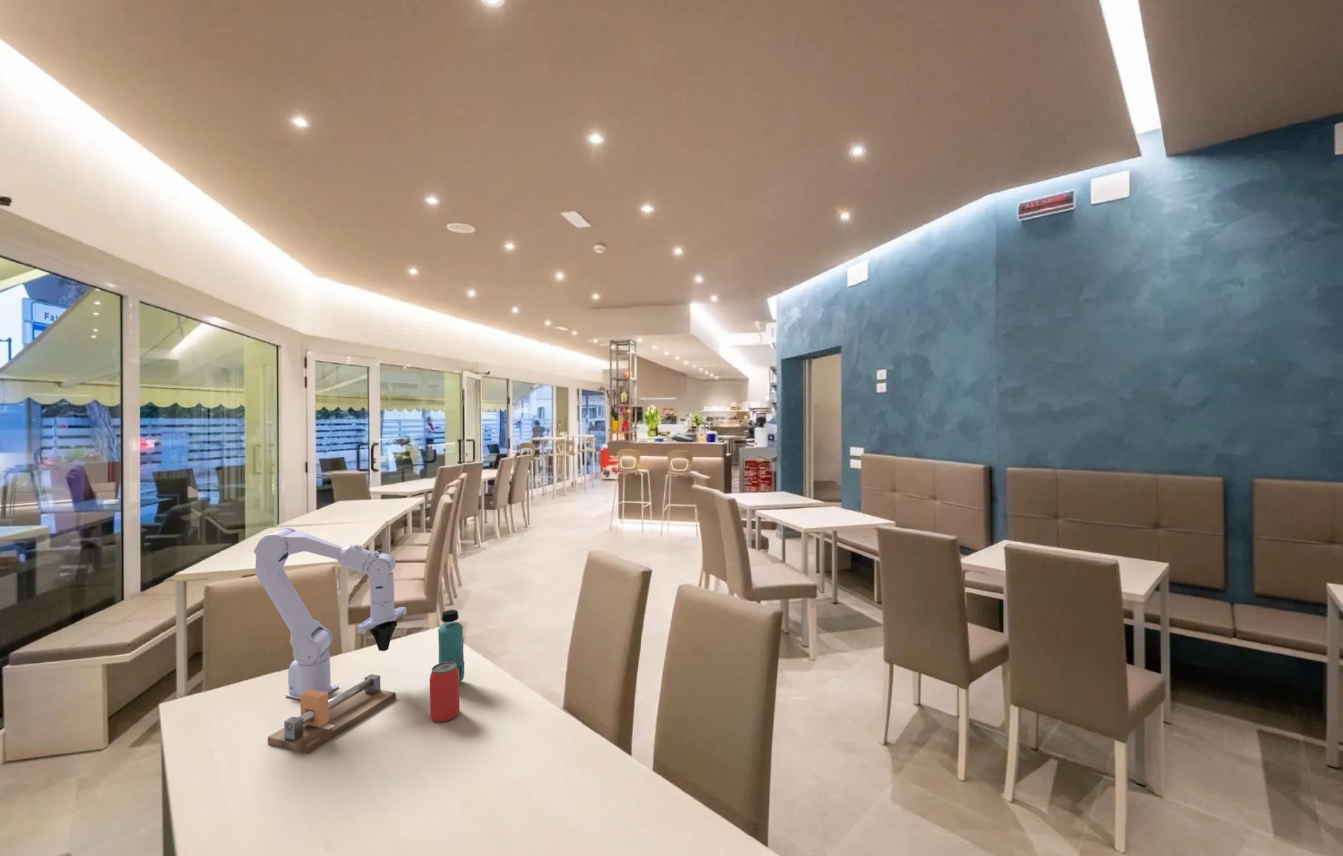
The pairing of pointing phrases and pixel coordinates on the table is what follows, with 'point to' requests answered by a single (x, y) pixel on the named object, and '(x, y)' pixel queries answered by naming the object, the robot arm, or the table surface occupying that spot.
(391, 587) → the robot arm
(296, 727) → the pipe stand
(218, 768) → the table surface
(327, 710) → the collar
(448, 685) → the beer can
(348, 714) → the board
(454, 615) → the beverage bottle
